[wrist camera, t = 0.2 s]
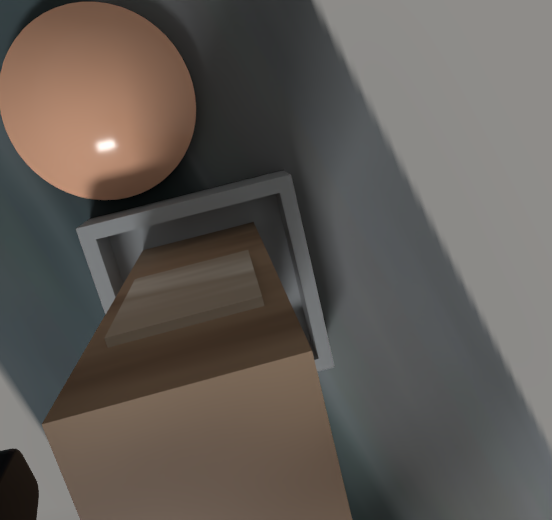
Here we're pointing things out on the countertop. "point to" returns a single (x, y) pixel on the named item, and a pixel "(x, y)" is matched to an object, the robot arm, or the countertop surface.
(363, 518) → the countertop surface
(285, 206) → the gray tray
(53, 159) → the brown curved piece
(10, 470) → the robot arm
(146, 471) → the walnut box
